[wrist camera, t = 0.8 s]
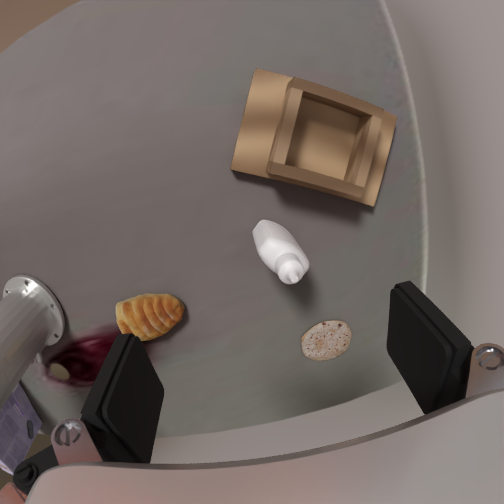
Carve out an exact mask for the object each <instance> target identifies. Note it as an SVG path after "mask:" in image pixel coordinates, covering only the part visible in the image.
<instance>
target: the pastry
mask: <svg viewBox="0 0 504 504" xmlns="http://www.w3.org/2000/svg"><path fill="white" fill-rule="evenodd" d="M184 310H185V307H184V305H183V303H182V302H181V300H179V299H178V298H177V297H175V296H174V295H171V294H152V293H145V294H143V295H138V296H136V297H132V298H129V299H126V300H125V301H121V302H118V303H117V304H116V316H117V324H118V326H119V328H120V330H121V332H122V334H127V333H133V334H134V335H135V336H138V337H139V338H140V340H141V341H146V340H152V339H154V338H156V337H159V336H161V335H163V334H165V333H167V332H168V331H169V330H170V329H172V328H173V326H174V325H175V324H177V323H178V322H180V321H181V318H182V316H183V312H184Z"/></svg>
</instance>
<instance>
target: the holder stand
mask: <svg viewBox="0 0 504 504" xmlns="http://www.w3.org/2000/svg"><path fill="white" fill-rule="evenodd" d="M396 120H397V116H395V115H392V114H390V113H388V112H386V111H384V109H382V108H380V107H377V106H375V105H373V104H370V103H368V102H365V101H363V100H360V99H358V98H355V97H353V96H350V95H347V94H345V93H342V92H339V91H336V90H334V89H331V88H328V87H325V86H322V85H319V84H316V83H313V82H310V81H306V80H303V79H300V78H296V77H294V78H291V77H288V76H284V75H281V74H277V73H273V72H269V71H265V70H261V69H257V68H256V69H255V72H254V75H253V79H252V83H251V87H250V91H249V94H248V98H247V102H246V106H245V110H244V114H243V118H242V122H241V126H240V130H239V134H238V139H237V143H236V147H235V151H234V155H233V160H232V164H231V168H230V169H231V170H235V171H240V172H244V173H249V174H253V175H258V176H262V177H266V178H270V179H275V180H279V181H283V182H287V183H291V184H295V185H299V186H303V187H307V188H310V189H314V190H318V191H322V192H325V193H329V194H333V195H336V196H340V197H343V198H347V199H350V200H354V201H357V202H360V203H364V204H367V205H370V206H374V205H375V201H376V198H377V194H378V191H379V187H380V184H381V180H382V177H383V173H384V169H385V166H386V162H387V158H388V154H389V150H390V146H391V142H392V137H393V133H394V129H395V124H396Z"/></svg>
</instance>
